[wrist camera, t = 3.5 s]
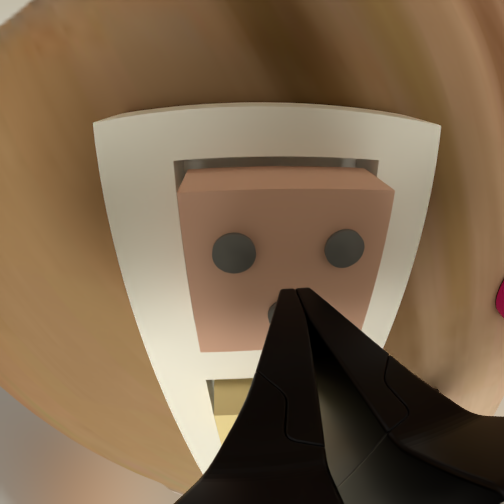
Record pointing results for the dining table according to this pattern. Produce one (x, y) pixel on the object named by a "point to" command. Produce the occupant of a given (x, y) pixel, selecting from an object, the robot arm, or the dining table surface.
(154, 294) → the rail
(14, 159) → the dining table surface
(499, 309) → the pepper mill
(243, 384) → the tile
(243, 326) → the three-pip tile
